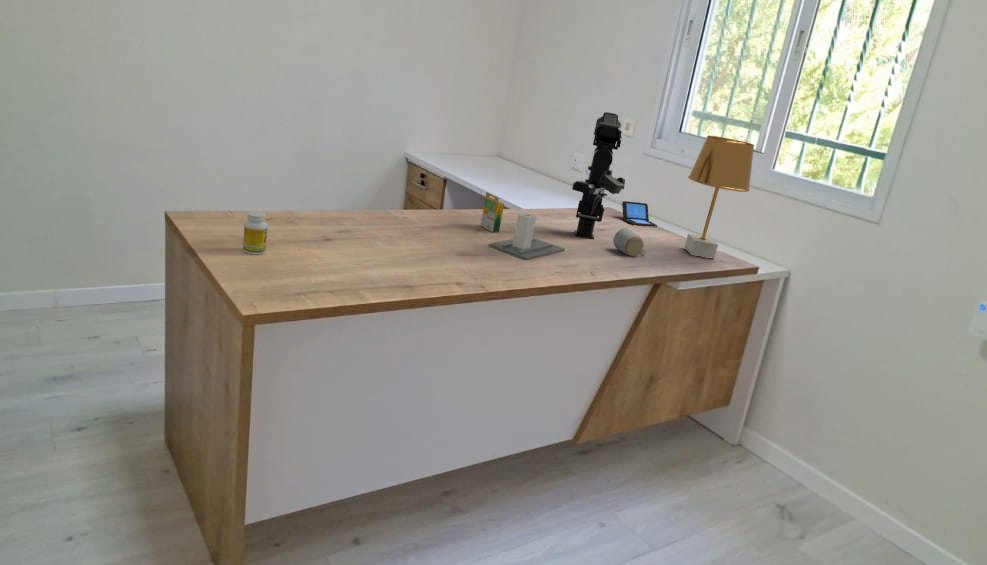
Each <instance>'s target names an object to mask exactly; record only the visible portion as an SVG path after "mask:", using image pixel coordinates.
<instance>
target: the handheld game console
mask: <svg viewBox="0 0 987 565" xmlns="http://www.w3.org/2000/svg"><path fill="white" fill-rule="evenodd" d="M621 207H622V221H624V222H625V223H626V224H629V225H630V224H631V226H633V225H637V226H636V227H645V226H656V227H655V228H658V225H657V224H656V223H654V222H652V221H650V218H649V206H648V204H647V203H645V202H635V201H626V200H623V201H622V203H621Z"/></svg>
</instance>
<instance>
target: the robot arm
mask: <svg viewBox="0 0 987 565" xmlns="http://www.w3.org/2000/svg"><path fill="white" fill-rule="evenodd" d="M595 122H596V123H595V127H594V132H593V135H594V138H593V141H592V142H593V143H592V145H593V146H595V148H594V152H593V156H592V159H591V164H590V166H589V165H588V167H587V171H589V173H588V174H589V175H588V179H587V178H586V179H585V180H584V181H583V180H579V181H578V180H576V181H574V182H573V183H572V187H571V190H572V191H576V192H579V193H582V196H581V200H580V199H579V201H578V206H577V209H576V210H577V211H576V215H575V218H578V221H577V227H576V230H575V229H574V235H575V236H576V237H581V238H587V239H591V240H594V239H595V236H594V229H595V225H596V222H598V223H600V222H603V221H602V219H603V217H604V213H605V207H604V204H603V198H604V197H607V196H608V195H609V194H607V193H605V191H607V192H609V193H610V194H612V195H616V194H617V195H619V194H620V192H621V191H622V190H624V189H625V186H626V179H624V178H623V177H618V178H617V177H614V176H613V171H612V170H611V169H610V167H611V165H612V163H613V157H614V156H613V155H614V152H613V150H616V151H617V150H618V149H619V148H621V144H622V139H623V138H622V137H623V133H622V130H621V127H622V123H621V122H620V120H619V114H617V113H613V112H607V111H606V112H603V115H602V116H601V117H598V118H597V119H596V121H595Z"/></svg>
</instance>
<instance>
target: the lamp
mask: <svg viewBox="0 0 987 565" xmlns="http://www.w3.org/2000/svg"><path fill="white" fill-rule="evenodd" d="M754 149H755V144H753V143H749V142H746V141H742V140H738V139H733V138H729V137H723V136H716V135H707V136H706V139H705V141H704V143H703V145H702V148H701V149H700V151H699V154H698V156H697V158H696V161H695V162H694V165H693V167H692V169H691V172H690V173H689V175H688V176H687V178H688V180H691V181H693V182H695V183H698V184H701V185H705V186H708V187H712V188H714V192H713V194H712V199H711V202H710V206H709V208H708V213H707V217H706V219H705V223H704V227H703V231H702V234H701V235H697V234H691V233H687V236H686V240H685V243H684V247H685V248H686V250H687V251H688V252H689V253H690V254H691V255H697V256H704V257H712V258H714V259H715V256H716V254H717V249H718V245H719V244H718V243H717V242H716V240H714V239H713V238H712V237H709V236H707V233H708V229H709V225H710V221H711V219H712V215H713V211H714V208H715V203H716V201H717V197H718V193H719V190H720V189H721V190H726V191H731V192H738V193H739V192H740V193H741V192H742V193H747V192H750V184H751V175H752V168H753V167H752V166H753V158H754ZM686 250H685V251H686ZM687 251H686V252H687ZM688 252H687V253H688ZM689 253H688V254H689ZM690 254H689V255H690ZM691 255H690V256H691Z"/></svg>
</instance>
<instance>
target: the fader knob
mask: <svg viewBox="0 0 987 565" xmlns="http://www.w3.org/2000/svg"><path fill="white" fill-rule="evenodd" d="M536 220H537V216H536V215H533V214H530V213H527V212H524V213H518V214H517V219H516V224H515V229H514V235H513V244H512V246H514V247H517V248H520V249H528V248H530V246H531V241H532V237H534V236H533V235H534V231H535V225H536Z"/></svg>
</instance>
